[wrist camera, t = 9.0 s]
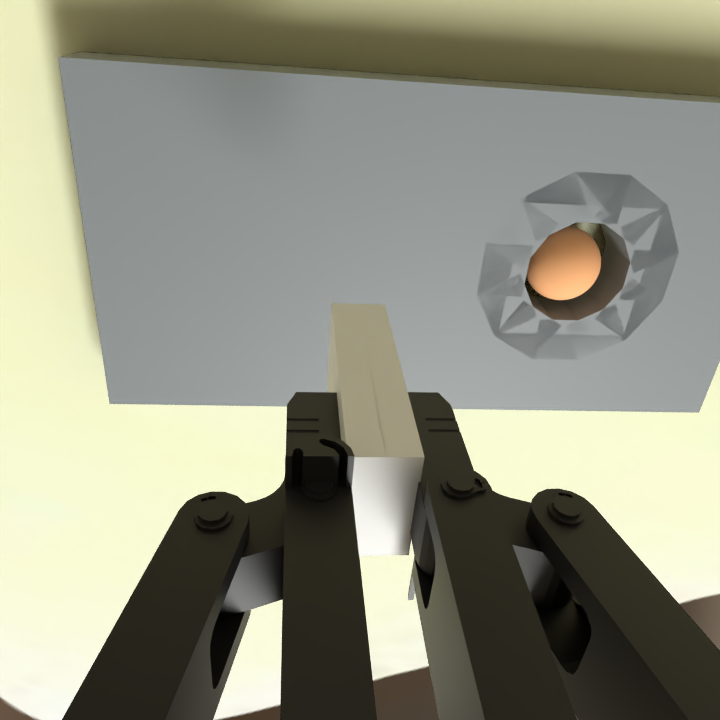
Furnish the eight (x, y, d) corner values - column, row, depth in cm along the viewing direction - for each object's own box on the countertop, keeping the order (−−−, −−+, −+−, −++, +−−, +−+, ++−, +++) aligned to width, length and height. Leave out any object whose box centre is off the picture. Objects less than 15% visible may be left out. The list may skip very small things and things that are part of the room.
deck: (123, 374, 30) (109, 403, 28) (80, 51, 23) (58, 57, 21) (673, 385, 33) (698, 412, 31) (778, 100, 26) (821, 110, 24)
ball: (569, 210, 25) (603, 218, 28) (502, 238, 28) (539, 243, 30) (589, 286, 25) (621, 288, 27) (519, 308, 27) (554, 308, 30)
